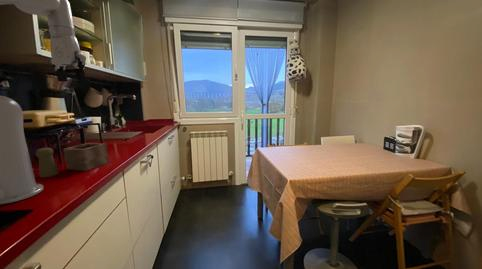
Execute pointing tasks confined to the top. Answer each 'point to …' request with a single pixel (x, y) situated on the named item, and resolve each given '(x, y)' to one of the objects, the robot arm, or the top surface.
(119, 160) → the top surface
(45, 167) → the cork
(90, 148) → the walnut box
